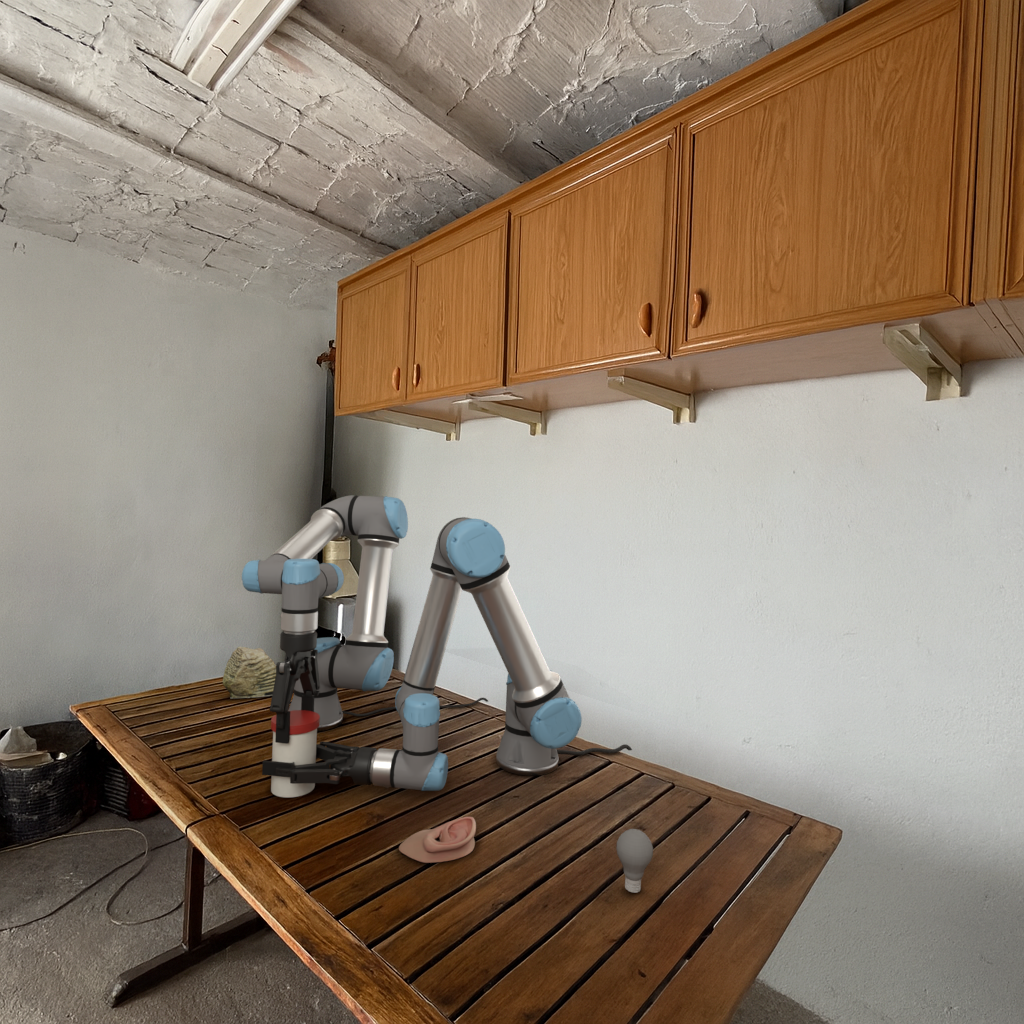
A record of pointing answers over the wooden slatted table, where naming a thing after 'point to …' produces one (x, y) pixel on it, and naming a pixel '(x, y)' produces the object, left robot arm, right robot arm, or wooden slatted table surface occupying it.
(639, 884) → the light bulb
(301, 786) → the jar
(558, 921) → the wooden slatted table surface
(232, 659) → the fossil
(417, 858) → the anatomical model
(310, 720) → the lid
